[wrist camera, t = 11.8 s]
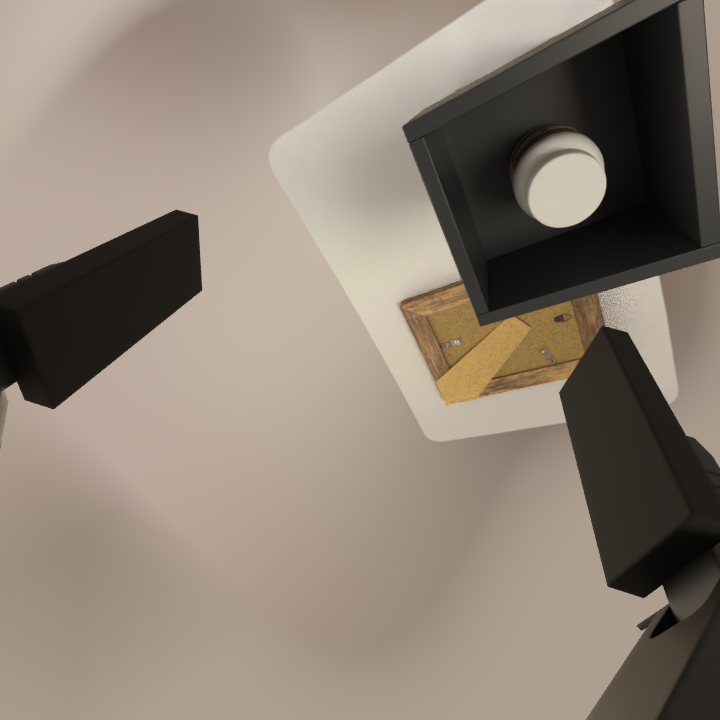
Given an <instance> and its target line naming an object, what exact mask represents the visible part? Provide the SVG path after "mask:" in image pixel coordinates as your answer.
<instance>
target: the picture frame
mask: <svg viewBox="0 0 720 720" xmlns="http://www.w3.org/2000/svg"><path fill="white" fill-rule="evenodd" d="M400 308H401V310H402V312H403V314H404V316H405V318H406V321H407V323H408V325H409V327H410V329H411V331H412V333H413V335H414V337H415V339H416V341H417V344H418V346H419V348H420V350H421V352H422V354H423V356H424V358H425V360H426V362H427V364H428V366H429V369H430V371H431V373H432V375H433V377H434V379H435V381H436V384H437V386H438V388H439V391H440V393H441V395H442V397H443V399H444V401H445V403H446V405H450V404H454V403H459V402H463V401H468V400H472V399H476V398H478V397H483V396H488V395H492V394H497V393H501V392H506V391H511V390H515V389H520V388H525V387H529V386H534V385H539V384H543V383H548V382H553V381H557V380H562V379H567V378H569V376H570V375H571V373H572V372H573V370H574V369H575V367H576V365H577V364H578V362H579V361H580V359H581V358H582V356H583V355H584V353H585V351H586V350H587V348H588V347H589V345H590V344H591V342H592V340H593V339H594V337H595V336H596V334H597V333H598V331H599V330H600V328H601V326H605V324H604V319H603V315H602V311H601V306H600V302H599V298H598V293H596V294H592V295H589V296H585V297H582V298H578V299H575V300H572V301H568V302H565V303H561V304H558V305H554V306H551V307H547V308H544V309H540V310H537V311H534V312H530V313H527V314H523V315H520V316H516V317H513V318H509V319H506V320H502V321H499V322H495V323H492V324H489V325H485V326H482V327H480V325H479V323H478V320H477V318H476V315H475V313H474V310H473V307H472V305H471V302H470V300H469V297H468V295H467V292H466V290H465V287H464V284H463V282H462V281H461V282H458V283H455V284H452V285H449V286H446V287H443V288H441V289H438V290H435V291H432V292H429V293H426V294H423V295H420V296H417V297H414V298H411V299H409V300H406V301H403V302H401V305H400Z"/></svg>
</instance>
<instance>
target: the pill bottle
mask: <svg viewBox="0 0 720 720" xmlns="http://www.w3.org/2000/svg"><path fill="white" fill-rule="evenodd" d="M509 172H510V179H511V183H512V187H513V192H514V195H515V198H516V200H517V202H518V204H519V206H520V207H521V209H522V210H523V211H524V212H525V213H526V214H528V215H529V216H530V217H532V218H534V219H537V220H538V221H539V222H541V223H542V224H544V225H546V226H550V227H554V228H563V227H569V226H572V225H575V224H578V223H580V222H581V221H583V220H585V219H586V218H587V217H589V216H590V215H591V214H592V213H593V212H594V211H595V210H596V209H597V207H598V206H599V204H600V203H601V201H602V199H603V197H604V195H605V190H606V175H605V171H604V160H603V157H602V154H601V152H600V150H599V148H598V147H597V146H596V144H595V143H594V142H593V141H592V140H590V139H589V138H588V137H587V136H585V135H583V134H582V133H580V132H579V131H578V130H576V129H575V128H573V127H571V126H569V125H567V124H563V123H549V124H545V125H542V126H539V127H537V128H535V129H533V130H532V131H530V132H529V133H528V134H526V135H525V136H524V137H523V138H522V139H521V141H520V142H519V143H518V145H517V146H516V148H515V150H514V152H513V154H512V157H511V160H510V168H509Z"/></svg>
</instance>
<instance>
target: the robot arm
mask: <svg viewBox="0 0 720 720" xmlns="http://www.w3.org/2000/svg"><path fill="white" fill-rule="evenodd" d="M200 264H201V263H200V246H199V227H198V216H197V215H194V214H190V213H186V212H183V211H179V210H175V211H172V212H170V213H168V214H166V215H164V216H162V217H160V218H157V219H155V220H153V221H151V222H149V223H147V224H144V225H142V226H140V227H138V228H136V229H134V230H132V231H129V232H127V233H125V234H123V235H121V236H119V237H117V238H114V239H113V240H110V241H108V242H106V243H104V244H102V245H99V246H97V247H95V248H93V249H91V250H89V251H87V252H85V253H82V254H80V255H78V256H76V257H74V258H72V259H70V260H67V261H65V262H61V263H57V264H52V265H49V266H47V267H44V268H42V269H40V270H38V271H36V272H34V273H32V275H31V276H30V275H27V276H25V277H23V278H20V279H18V280H17V282H12V283H10V284H7V285H5V286H3V287H1V288H0V447H1V441H2V435H3V429H4V423H5V417H6V411H7V405H8V400H7V396H6V394H5V392H4V389H6V388H8V387H9V386H10V385H12V384H13V383H15V382H16V381H17V383H18V385H19V387H20V390H21V392H22V394H23V397H24V399H25V400H26V401H29V402H33V403H36V404H39V405H42V406H45V407H48V408H51V409H55V408H56V407H57V406H58V405H60V404H61V403H62V402H63V401H65V400H66V399H67V398H68V397H70V396H71V395H72V394H73V393H75V392H76V391H77V390H78V389H80V388H81V387H82V386H83V385H85V384H86V383H87V382H88V381H90V380H91V379H92V378H93V377H95V376H96V375H97V374H98V373H100V372H101V371H102V370H103V369H105V368H106V367H107V366H108V365H110V364H111V363H112V362H113V361H115V360H116V359H117V358H118V357H119V356H121V355H122V354H123V353H124V352H126V351H127V350H128V349H129V348H131V347H132V346H133V345H134V344H136V343H137V342H138V341H139V340H141V339H142V338H143V337H144V336H145V335H147V334H148V333H149V332H151V331H152V330H153V329H154V328H156V326H158V325H159V324H161V323H162V322H163V321H164V320H166V319H167V318H168V317H169V316H171V315H172V314H173V313H174V312H176V311H177V310H178V309H179V308H181V307H182V306H183V305H184V304H185V303H187V302H188V301H189V300H191V299H192V298H193V297H194V296H195V295H197V294H198V293H199V292H200V291H202V281H201V265H200ZM559 394H560V398H561V402H562V406H563V410H564V414H565V418H566V422H567V426H568V430H569V434H570V438H571V442H572V446H573V450H574V454H575V458H576V461H577V466H578V470H579V474H580V478H581V482H582V486H583V490H584V494H585V498H586V502H587V505H588V509H589V514H590V518H591V522H592V526H593V530H594V534H595V538H596V541H597V546H598V549H599V554H600V558H601V562H602V566H603V570H604V573H605V578H606V582H607V586H608V587H611V588H614V589H617V590H620V591H623V592H627V593H630V594H633V595H636V596H639V597H642V598H645V597H646V596H648V595H649V594H650V593H652V592H653V591H654V590H656V589H657V588H658V587H660V586H661V585H663V587H664V590H665V593H666V596H667V598H668V601H669V604H668V605H666V606H665V607H663V608H662V609H660V610H659V611H658V612H656V613H655V614H653V615H651V616H650V617H649V618H647V619H646V620H644V621H643V622H641V623H640V624H638V625H637V627H638V628H639V629H640V630H644V629H645V628H647V629H646V630H645V632H644V633H643V635H642V636H641V638H640V639H639V641H638V642H637V644H636V645H635V647H634V648H633V650H632V651H631V653H630V654H629V656H628V657H627V659H626V660H625V662H624V663H623V665H622V666H621V668H620V669H619V671H618V672H617V674H616V675H615V677H614V678H613V680H612V681H611V683H610V684H609V686H608V687H607V689H606V690H605V692H604V693H603V695H602V696H601V698H600V699H599V701H598V702H597V704H596V705H595V707H594V708H593V710H592V711H591V713H590V715H589V716H588V717H587V719H586V720H720V468H719V466H718V464H717V463H716V461H715V459H714V458H713V456H712V455H711V454H710V453H709V452H708V451H707V450H706V449H705V448H704V447H703V446H702V445H701V444H700V443H699V442H698V441H697V440H696V439H695V438H692V437H689V436H686V435H685V433H684V431H683V429H682V428H681V426H680V424H679V422H678V421H677V419H676V417H675V416H674V413H673V412H672V410H671V408H670V407H669V405H668V403H667V401H666V399H665V398H664V396H663V394H662V392H661V391H660V389H659V387H658V385H657V384H656V382H655V380H654V378H653V376H652V375H651V373H650V371H649V369H648V368H647V366H646V364H645V362H644V361H643V359H642V357H641V355H640V354H639V352H638V350H637V348H636V346H635V345H634V343H633V341H632V339H631V338H630V336H629V334H628V333H627V332H624V331H620V330H616V329H613V328H609V327H605V326H601V328H600V330H599V331H598V333H597V334H596V336H595V337H594V339H593V340H592V342H591V344H590V345H589V347H588V348H587V350H586V351H585V353H584V355H583V356H582V358H581V359H580V361H579V362H578V364H577V365H576V367H575V369H574V370H573V372H572V373H571V375H570V376H569V378H568V380H567V381H566V383H565V384H564V386H563V387H562V389H561V391H560V392H559Z"/></svg>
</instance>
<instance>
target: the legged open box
mask: <svg viewBox="0 0 720 720" xmlns="http://www.w3.org/2000/svg"><path fill="white" fill-rule="evenodd" d="M707 53H708V52H707V39H706V26H705V13H704V0H621V1H619V2H618V3H616V4H614V5H612V6H610V7H608V8H607V9H605V10H603V11H601V12H599V13H598V14H596V15H594V16H592V17H590V18H589V19H587V20H585V21H583V22H581V23H579V24H578V25H576V26H574V27H572V28H570V29H569V30H567V31H565V32H563V33H561V34H560V35H558V36H556V37H553V38H551V39H550V40H549V41H547V42H545V43H543V44H542V45H540V46H538V47H536V48H534V49H532V50H531V51H529V52H527V53H525V54H523V55H522V56H520V57H518V58H516V59H514V60H513V61H511V62H509V63H507V64H505V65H504V66H502V67H500V68H498V69H496V70H495V71H493V72H491V73H489V74H487V75H485V76H484V77H482V78H480V79H478V80H476V81H475V82H473V83H471V84H469V85H467V86H466V87H464V88H462V89H459V90H457V91H456V92H455V93H453V94H451V95H449V96H447V97H446V98H444V99H442V100H440V101H438V102H437V103H435V104H433V105H431V106H429V107H428V108H426V109H424V110H423V111H421V112H420V113H419V114H418V115H416V116H415V117H414V118H412V119H411V120H410V121H409V122H407V123H406V124H405V125H404V126H403V127H402V129H403V131H404V134H405V136H406V139H407V141H408V143H409V146H410V149H411V151H412V154H413V157H414V159H415V162H416V164H417V167H418V169H419V172H420V174H421V177H422V180H423V182H424V185H425V187H426V190H427V192H428V195H429V197H430V200H431V203H432V205H433V208H434V210H435V213H436V215H437V218H438V220H439V223H440V226H441V228H442V231H443V233H444V236H445V238H446V241H447V243H448V246H449V249H450V251H451V254H452V256H453V259H454V261H455V264H456V266H457V269H458V272H459V274H460V277H461V279H462V282H463V284H464V287H465V290H466V292H467V295H468V297H469V300H470V302H471V305H472V307H473V310H474V313H475V315H476V318H477V320H478V323H479V325H480V327H482V326H485V325H489V324H492V323H495V322H499V321H502V320H506V319H509V318H513V317H516V316H520V315H523V314H527V313H530V312H534V311H537V310H540V309H544V308H547V307H551V306H554V305H558V304H561V303H565V302H568V301H572V300H575V299H578V298H582V297H585V296H589V295H592V294H596V293H599V292H603V291H606V290H610V289H613V288H617V287H620V286H623V285H627V284H630V283H634V282H637V281H641V280H644V279H648V278H651V277H655V276H658V275H661V274H665V273H668V272H672V271H675V270H679V269H682V268H685V267H689V266H693V265H696V264H699V263H703V262H706V261H710V260H713V259H717V258H720V211H719V198H718V186H717V172H716V158H715V145H714V132H713V119H712V106H711V92H710V79H709V66H708V54H707ZM549 123H563V124H567V125H569V126H571V127H573V128H575V129H576V130H578V131H579V132H580V133H582V134H583V135H585V136H587V137H588V138H589V139H590V140H592V141H593V142H594V143H595V144H596V146H597V147H598V148H599V150H600V152H601V154H602V157H603V160H604V171H605V175H606V190H605V195H604V197H603V199H602V201H601V203H600V204H599V206H598V207H597V209H596V210H595V211H594V212H593V213H592V214H591V215H590V216H589V217H587V218H586V219H585V220H583V221H581V222H580V223H578V224H575V225H572V226H569V227H563V228H554V227H550V226H546V225H544V224H542V223H541V222H539V221H538V220H537V219H534V218H532V217H530V216H529V215H528V214H526V213H525V212H524V211H523V210H522V209H521V207H520V206H519V204H518V202H517V200H516V198H515V195H514V192H513V187H512V183H511V179H510V172H509V168H510V160H511V157H512V154H513V152H514V150H515V148H516V146H517V145H518V143H519V142H520V141H521V139H522V138H523V137H524V136H525V135H526V134H528V133H529V132H530V131H532V130H533V129H535V128H537V127H539V126H542V125H545V124H549Z"/></svg>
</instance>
